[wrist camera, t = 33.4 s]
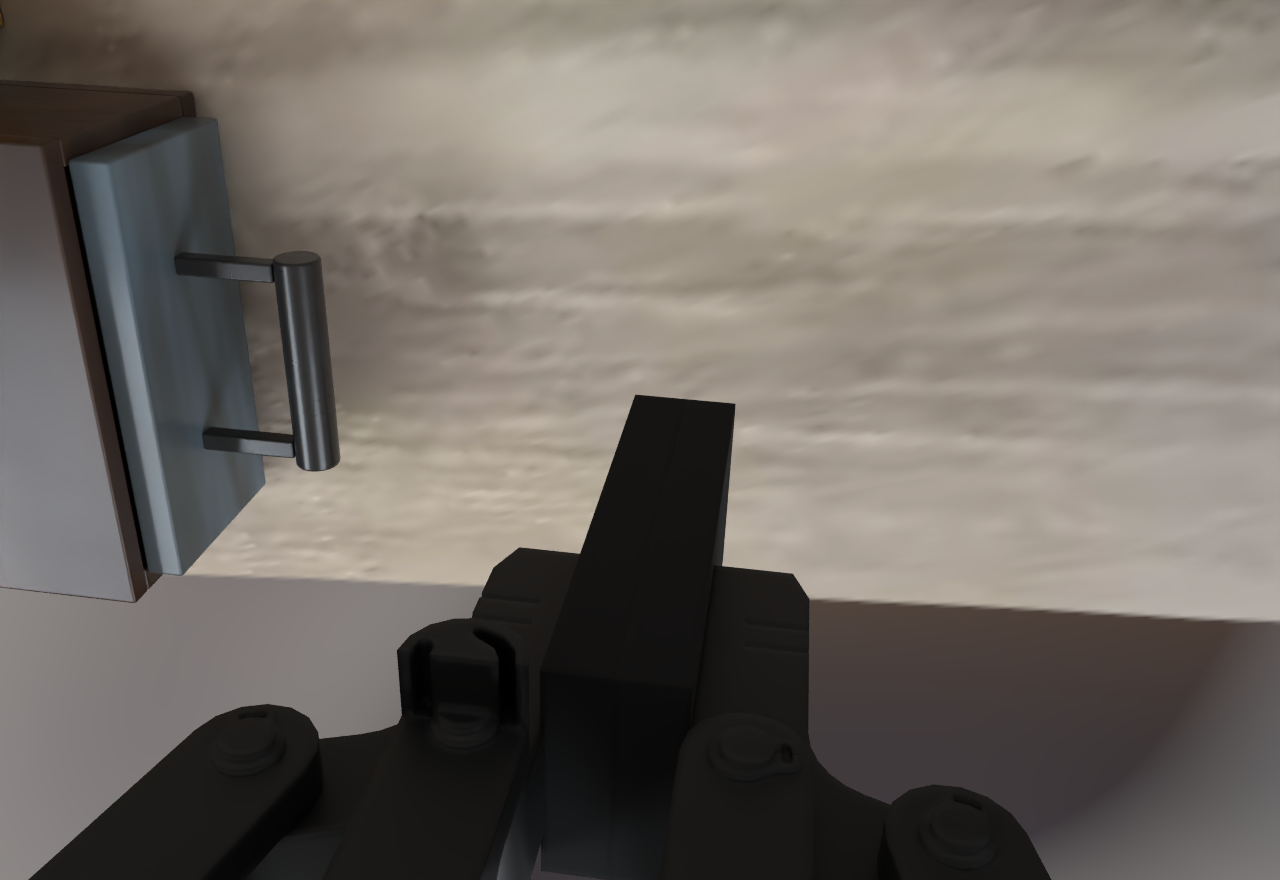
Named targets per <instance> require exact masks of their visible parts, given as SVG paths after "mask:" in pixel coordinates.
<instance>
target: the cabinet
mask: <svg viewBox="0 0 1280 880" xmlns="http://www.w3.org/2000/svg"><path fill="white" fill-rule="evenodd" d="M183 116H184V117H196V112H195V104H194V97H193V93H192V92H184V91H169V90H153V89H138V88H122V87H106V86H91V85H75V84H59V83H44V82H28V81H12V80H0V587H1V588H10V589H19V590H27V591H36V592H44V593H53V594H61V595H70V596H79V597H88V598H96V599H105V600H113V601H122V602H130V603H135V602H137V601H138V600H139V599H140V598H141V597H142V596H143V594H144V593H145V592H146V591H147V589H149V588H150V587H151V586H152V585H153V584H154V583H155V582H156V581H157V580H158V579H159V578H160V577H161V576H162V574H160V573H151V572H149V571H148V566H147V561H146V556H145V551H144V546H143V541H142V536H141V531H140V526H139V521H138V520H137V521H136V522H134V518H133V513H132V508H131V503H130V498H129V493H128V488H127V483H126V478H125V472H124V467H123V462H122V457H121V452H120V447H119V442H118V437H117V432H116V427H115V422H114V417H113V412H112V407H111V402H110V397H109V392H108V387H107V382H106V377H105V372H104V367H103V362H102V357H101V351H100V346H99V341H98V336H97V331H96V326H95V321H94V316H93V311H92V306H91V301H90V296H89V291H88V286H87V281H86V276H85V271H84V266H83V261H82V256H81V251H80V246H79V241H78V235H77V230H76V225H75V220H74V215H73V210H72V205H71V200H70V195H69V190H68V185H67V180H66V175H65V170H64V167H66V166H69V164H68V162H69V160H71V159H73V158H76V157H79V156H81V155H84V154H87V153H89V152H92V151H94V150H97V149H100V148H102V147H105V146H108V145H110V144H113V143H115V142H118V141H121V140H123V139H126V138H128V137H131V136H134V135H136V134H139V133H142V132H144V131H147V130H149V129H152V128H155V127H157V126H160V125H163V124H165V123H168V122H170V121H173V120H176V119H178V118H181V117H183Z"/></svg>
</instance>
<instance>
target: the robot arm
mask: <svg viewBox="0 0 1280 880" xmlns="http://www.w3.org/2000/svg"><path fill="white" fill-rule="evenodd" d="M734 416H735V404H732V403H721V402H710V401H699V400H688V399H677V398H666V397H655V396H644V395H635V397H634V400H633V403H632V406H631V409H630V412H629V415H628V418H627V420H626V423H625V426H624V429H623V432H622V435H621V438H620V441H619V444H618V446H617V449H616V452H615V455H614V458H613V461H612V464H611V467H610V470H609V472H608V475H607V478H606V481H605V484H604V487H603V490H602V493H601V495H600V498H599V501H598V504H597V507H596V510H595V513H594V516H593V519H592V521H591V524H590V527H589V530H588V533H587V536H586V539H585V542H584V545H583V547H582V550H581V553H580V554H576V553H567V552H558V551H548V550H539V549H530V548H520V547H519V548H518V549H517V550H515V551H514V552H513V553H512V554H510V555H509V556H508V557H507V558H505V559H504V560H503V561H501V562H500V563H499V564H498V565H496V566H495V567H494V568H493V570H492V572H491V574H490V576H489V579H488V581H487V583H486V585H485V587H484V589H483V592H482V597H480V598H479V600H478V602H477V604H476V607H475V609H474V611H473V615H472V618H470V619H451V620H447V621H443V622H439V623H435V624H430V625H429V626H427V627H425V628H423V629H421V630H419V631H417V632H416V633H414V634H412V635H410V636H409V637H408V638H407V640H406V641H405V642H404V643H403V644H402V645H401V647H400V648H399V649H398V650H397V657H398V670H399V681H400V694H401V707H402V716H401V719H400V721H399V723H398V724H397V725H394V726H392V727H389V728H386V729H383V730H380V731H375V732H370V733H365V734H359V735H350V736H341V737H334V738H324V739H319V737H318V731H317V730H316V728H315V727H314V725H313V723H312V722H311V720H310V718H308V717H307V716H305V715H304V714H302V713H300V712H298V711H296V710H294V709H293V708H290V707H283V706H277V705H270V704H265V705H256V706H246V707H240V708H237V709H235V710H232V711H229V712H226V713H224V714H220V715H218V716H215V717H214V718H213V719H211V720H209V721H208V722H207V723H205V724H203V725H202V726H200V727H199V728H198V729H196V730H195V731H193V732H192V734H190V735H189V736H188V737H187V738H186V739H185V740H183V741H182V742H181V743H180V744H179V745H178V746H177V747H176V748H175V749H173V750H172V751H171V752H170V753H169V754H168V755H167V756H166V757H165V758H163V759H162V760H161V761H160V762H159V763H158V764H157V765H156V766H155V767H153V768H152V769H151V770H150V771H149V772H148V773H147V774H146V775H144V776H143V777H142V778H141V779H140V780H139V781H138V782H137V783H136V784H134V785H133V786H132V787H131V788H130V789H129V790H128V791H127V792H126V793H124V794H123V795H122V796H121V797H120V798H119V799H118V800H117V801H116V802H114V803H113V804H112V805H111V806H110V807H109V808H108V809H107V810H105V811H104V812H103V813H102V814H101V815H100V816H99V817H98V818H97V819H95V820H94V821H93V822H92V823H91V824H90V825H89V826H88V827H87V828H85V830H83V831H82V832H81V833H80V834H79V835H78V836H77V837H75V838H74V839H73V840H72V841H71V842H70V843H69V844H68V845H67V846H65V847H64V848H63V849H62V850H61V851H60V852H59V853H58V854H57V855H55V856H54V857H53V858H52V859H51V860H50V861H49V862H48V863H47V864H45V865H44V866H43V867H42V868H41V869H40V870H39V871H38V872H36V873H35V874H34V875H33V876H32V877H31V878H30V879H29V880H531V876H532V872H533V869H534V865H535V861H536V858H537V854H538V851H539V847H540V844H541V871H546V872H553V873H560V874H568V875H576V876H582V877H590V878H597V879H604V880H1051V878H1050V877H1049V874H1048V873H1047V871H1046V869H1045V867H1044V865H1043V863H1042V862H1041V859H1040V858H1039V855H1038V854H1037V852H1036V850H1035V848H1034V846H1033V844H1032V842H1031V841H1030V838H1029V836H1028V835H1027V833H1026V832H1025V831H1024V829H1023V828H1022V827H1021V825H1020V824H1019V823H1018V822H1017V820H1016V819H1015V818H1014V816H1013V815H1012V814H1011V813H1010V812H1008V811H1007V810H1005V809H1004V808H1003V807H1001V806H1000V805H998V804H997V803H995V802H994V801H993V800H991V799H989V798H988V797H986V796H983V795H980V794H978V793H975V792H972V791H970V790H967V789H964V788H961V787H953V786H942V785H930V786H925V787H920V788H915V789H911V790H909V791H907V792H906V793H905V794H903V795H902V796H900V797H899V798H897V799H896V800H895V801H893V802H892V804H891V805H890V804H887V803H885V802H882V801H879V800H877V799H874V798H872V797H869V796H866V795H864V794H862V793H860V792H858V791H856V790H854V789H852V788H849V787H847V786H845V785H844V784H843V783H841V782H840V781H839V780H837V779H836V778H834V777H833V776H832V775H830V774H829V773H828V772H827V770H826V769H825V768H824V767H823V766H822V765H821V764H820V763H819V762H818V761H817V758H816V756H815V754H814V752H813V751H812V749H811V747H810V741H809V735H808V694H809V693H808V692H809V688H808V687H809V653H808V652H809V598H808V596H807V595H806V593H805V592H804V590H803V589H802V587H801V586H800V584H799V582H798V581H797V579H796V578H795V576H794V575H793V574H790V573H781V572H771V571H762V570H753V569H743V568H734V567H724V566H722V562H723V551H724V539H725V527H726V514H727V502H728V490H729V478H730V465H731V453H732V441H733V429H734Z"/></svg>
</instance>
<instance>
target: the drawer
mask: <svg viewBox="0 0 1280 880" xmlns="http://www.w3.org/2000/svg"><path fill="white" fill-rule="evenodd" d="M68 164H69V166H66V167H64V170H65V175H66V180H67V185H68V190H69V195H70V200H71V205H72V210H73V215H74V220H75V225H76V230H77V235H78V241H79V246H80V251H81V256H82V261H83V266H84V271H85V276H86V281H87V286H88V291H89V296H90V301H91V306H92V311H93V316H94V321H95V326H96V331H97V336H98V341H99V346H100V351H101V357H102V362H103V367H104V372H105V377H106V382H107V387H108V392H109V397H110V402H111V407H112V412H113V417H114V422H115V427H116V432H117V437H118V442H119V447H120V452H121V457H122V462H123V467H124V472H125V478H126V483H127V488H128V493H129V498H130V503H131V508H132V513H133V518H134V522H136V521H137V520H138V521H139V526H140V531H141V536H142V541H143V546H144V551H145V556H146V561H147V566H148V571H149V572H151V573H160V574H169V575H178V576H182V575H183V574H184V573H185V572H186V571H187V570H188V569H189V568H190V567H191V566H192V564H193V563H194V562H195V561H196V560H197V559H198V558H199V557H200V556H201V555H202V553H203V552H204V551H205V550H206V549H207V548H208V547H209V546H210V545H211V543H212V542H213V541H214V540H215V539H216V538H217V537H218V536H219V535H220V533H221V532H222V531H223V530H224V529H225V528H226V527H227V526H228V525H229V524H230V522H231V521H232V520H233V519H234V518H235V517H236V516H237V515H238V514H239V512H240V511H241V510H242V509H243V508H244V507H245V506H246V505H247V504H248V502H249V501H250V500H251V499H252V498H253V497H254V496H255V495H256V494H257V493H258V491H259V490H260V489H261V488H262V487H263V486H264V485H265V475H264V467H263V460H262V455H266V456H276V457H286V458H294V457H295V456H296V463H297V465H298V467H300V468H301V469H303V470H306V471H324V470H328V469H331V468H333V467H335V466H336V465H337V464H338V463H339V461H340V449H339V439H338V429H337V418H336V408H335V398H334V388H333V377H332V367H331V357H330V347H329V337H328V326H327V316H326V306H325V296H324V285H323V275H322V265H321V258H320V256H319V255H318V254H316V253H313V252H307V251H292V252H286V253H282V254H279V255H277V256H275V257H274V258H273V259H264V258H252V257H239V256H235V250H234V243H233V235H232V228H231V220H230V213H229V205H228V198H227V191H226V183H225V176H224V168H223V161H222V153H221V146H220V138H219V131H218V123H217V119H214V118H199V117H184V116H183V117H181V118H178V119H176V120H173V121H170V122H168V123H165V124H163V125H160V126H157V127H155V128H152V129H149V130H147V131H144V132H142V133H139V134H136V135H134V136H131V137H128V138H126V139H123V140H121V141H118V142H115V143H113V144H110V145H108V146H105V147H102V148H100V149H97V150H94V151H92V152H89V153H87V154H84V155H81V156H79V157H76V158H73V159H71V160H69V162H68ZM239 280H241V281H253V282H266V283H273V282H275V286H276V294H277V303H278V311H279V320H280V328H281V337H282V345H283V354H284V362H285V371H286V379H287V387H288V396H289V404H290V413H291V421H292V430H293V435H291V434H281V433H271V432H261V431H259V430H258V422H257V415H256V407H255V400H254V392H253V385H252V378H251V370H250V363H249V355H248V348H247V340H246V333H245V325H244V318H243V310H242V303H241V295H240V288H239Z"/></svg>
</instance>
